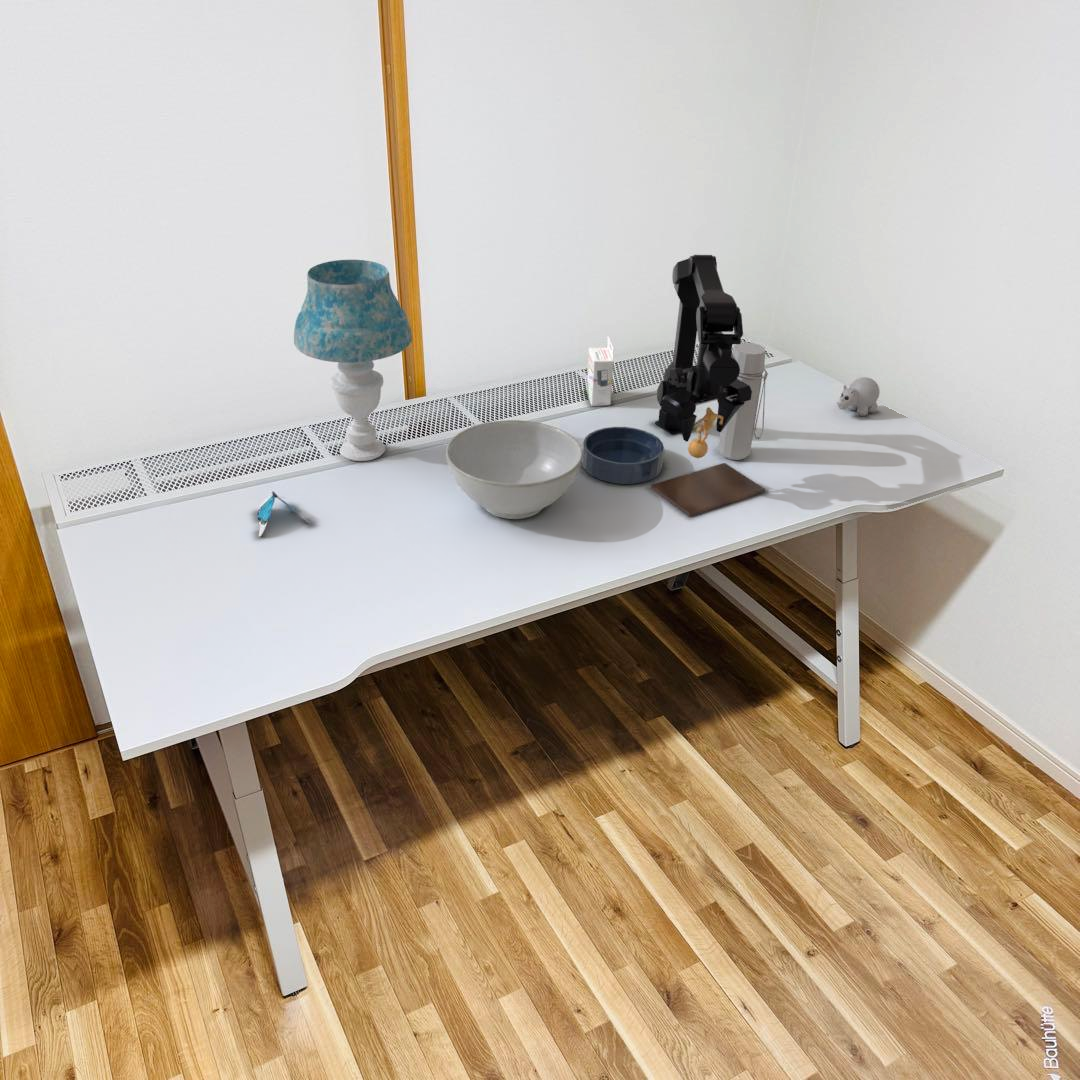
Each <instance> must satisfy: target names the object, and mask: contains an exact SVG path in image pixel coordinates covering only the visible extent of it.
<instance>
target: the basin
mask: <svg viewBox="0 0 1080 1080" xmlns="http://www.w3.org/2000/svg"><path fill="white" fill-rule="evenodd" d="M582 451H583V458H582V462H581V465H582V467H583V469H584V470H585V472H586V473H587V474H589V475H591V476H592V477H594V478H595V479H598V480H601V481H604V482H607V483H613V484H619V485H622V484H623V485H634V484H641V483H645V482H648V481H651V480H653V479H655V478H656V477H657V476H658V475H660V473H661V472H662V469H663V461H664V451H665V446H664V442H663V441H662V440H661V439H660V438H659V437H658V436H656V435H655V434H653V433H652V432H649V431H646V430H644V429H640V428H636V427H631V426H630V427H629V426H610V427H603V428H599V429H595V430H593V431H591V432H590V433H588V434H587V435H586V436H585V437H584V439H583V442H582Z"/></svg>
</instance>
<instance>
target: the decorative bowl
mask: <svg viewBox="0 0 1080 1080" xmlns="http://www.w3.org/2000/svg"><path fill="white" fill-rule="evenodd" d="M445 458H446V462H447V465H448V468H449V470H450V473H451V475H452V477H453V479H454V480H455V482H456V483H457V485H458V486H459V488H460V489H461V490H462V491H463V492H464V493H465V495H466V496H467V497H468V498H470V499H471V501H473V502H475V503H476V504H478V505H479V506H481V507H483V508H484V509H485V510H486V511H487V512H488V513H490V514H491V515H493V516H496V517H498V518H502V519H508V520H519V519H527V518H530V517H533V516H535V515H537V514H539V513H540V512H541V511H542V510H543V509H545V508H547V507H548V506H550V505H552V504H554V502H556V501H557V500H558V499H560V498H561V497H562V496H563V494H565V493H566V492H567V490H568V489H569V488H570V486H571V484H573V482H574V480H575V478H576V477H577V475H578V472H579V470H580V468H581V465H582V458H583V447H582V445H581V444H580V442H579V441H578V440H577V439H576V438H575V437H574V436H572V435H571V434H570V433H569V432H567V431H565V430H562V429H561V428H558V427H555V426H553V425H550V424H546V423H541V422H537V421H532V420H531V421H530V420H519V419H517V420H515V419H511V420H510V419H509V420H507V419H506V420H505V419H504V420H496V421H495V420H494V421H489V422H483V423H479V424H476V425H473V426H470V427H468V428H465V429H463V430H461V431H459V432H458V433H457V434H456V435H454V436H453V437H452V438H451V439H450V440H449V442H448V443H447V446H446V448H445Z"/></svg>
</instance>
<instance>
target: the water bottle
mask: <svg viewBox="0 0 1080 1080" xmlns="http://www.w3.org/2000/svg"><path fill="white" fill-rule="evenodd" d="M732 353H733V355H734V357H735V359H736V360H737V362H738V364H739V368H740V373H739V376H738V378H737V379H738V380H740V381H742V382H744V383H746V384H747V385H749V386H750V387H751V389H752V395H751V400H749V401H745V403H744V405H742V406H741V407H740V408H739V409H738V410H737V412H736V413H735V414H734V415H733V417H732V418H731V419H730V421H729V422H728V423H727V425H726V426H725V427H724V429H723V430H722V432H719V439H718V440H719V441H718V447H717V450H718V451H717V452H718V454H719V455H721V456H722V457H723V458H725V459H728V460H733V461H740V460H745V459H746V458H747V457H748V456H749V455H751V449H752V443H753V436H754V438H755V439H756V440H760V439H761V438H762V435H763V432H764V428H765V404H766V381H767V377H768V375H769V373H768V371H767V370H766V368H765V362H766V348H765V347H764V346H762V345H761V344H758V343H756V342H755V343H754V342H746V341H745V342H741V344H734V345H733V349H732ZM763 374H764V375H763ZM762 381H763V384H762ZM761 387H762V389H761ZM760 394H761V395H760ZM762 399H763V408H762V423H761V424H762V427H761V433H760V436H757V434H756V430H757V425H758V419H759V414H760V409H761V403H762Z"/></svg>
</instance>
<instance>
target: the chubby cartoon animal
mask: <svg viewBox="0 0 1080 1080" xmlns="http://www.w3.org/2000/svg"><path fill="white" fill-rule="evenodd" d="M880 393H881V392H880V387H879V385H878V383H877V381H875V380H874V379H873V378H871V377H866V376H864V377H863V376H862V377H858V378H856V379H855V380H854V381H852V382H851V383H850V385H849V387H848V386H847V385H846V384H844V385H843V390H842V392H841V393H840V396H839V397H838V400H837V402H836V404H837V407H838V409H839V410H849V411H856V414H857V415H858V416H863V417H864V416H867V415H868V414H869V413H870V414H875V413H876V412H877V410H878V404H877V403H878V402H877V401H878V400H879V397H880Z"/></svg>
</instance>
